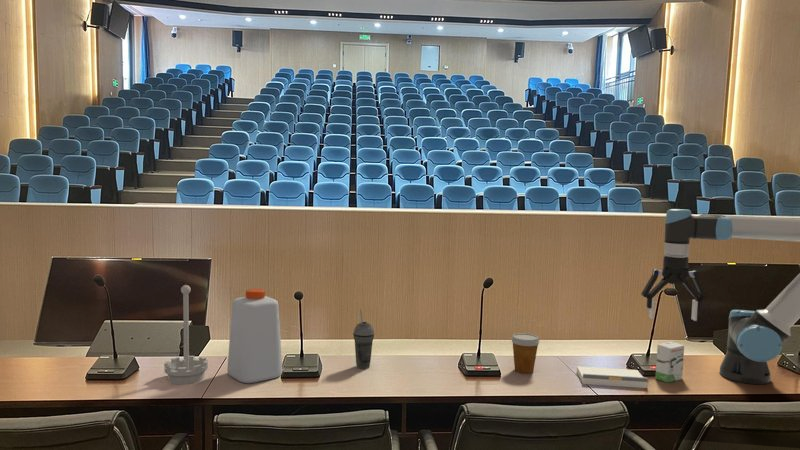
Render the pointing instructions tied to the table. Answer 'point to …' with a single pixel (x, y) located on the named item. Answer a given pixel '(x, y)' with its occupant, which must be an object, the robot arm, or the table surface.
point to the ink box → (669, 361)
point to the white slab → (611, 377)
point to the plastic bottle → (254, 338)
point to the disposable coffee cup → (524, 351)
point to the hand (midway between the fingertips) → (672, 319)
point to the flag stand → (186, 355)
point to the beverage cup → (363, 343)
